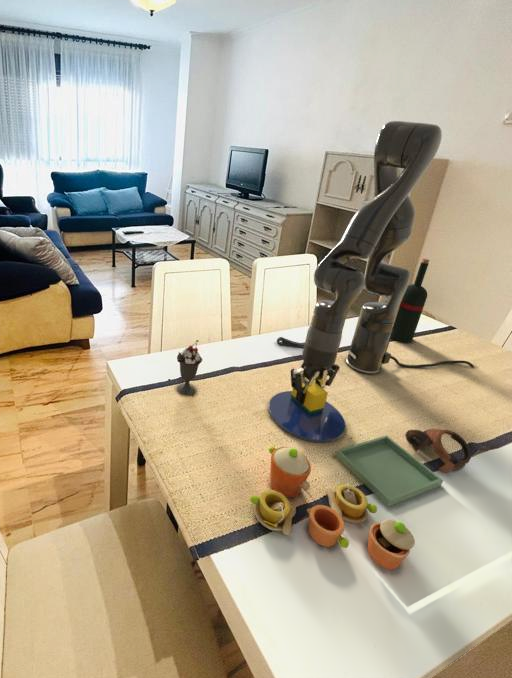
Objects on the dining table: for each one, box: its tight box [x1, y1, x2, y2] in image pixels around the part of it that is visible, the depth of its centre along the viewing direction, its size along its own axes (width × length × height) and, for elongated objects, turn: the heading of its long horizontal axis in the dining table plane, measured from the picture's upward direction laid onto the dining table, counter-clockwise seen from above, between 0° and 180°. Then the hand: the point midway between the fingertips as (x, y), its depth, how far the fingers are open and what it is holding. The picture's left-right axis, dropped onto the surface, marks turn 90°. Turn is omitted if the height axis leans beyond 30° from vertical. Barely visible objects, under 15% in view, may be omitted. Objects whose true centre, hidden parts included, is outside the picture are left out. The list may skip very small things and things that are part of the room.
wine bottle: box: [389, 258, 430, 344], centre depth 135 cm, size 8×10×30 cm
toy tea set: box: [250, 446, 416, 571], centre depth 70 cm, size 26×16×10 cm, turn 67°
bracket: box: [276, 336, 305, 350], centre depth 129 cm, size 14×15×3 cm
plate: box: [268, 390, 346, 444], centre depth 96 cm, size 18×18×1 cm
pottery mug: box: [404, 427, 472, 473], centre depth 86 cm, size 12×10×8 cm
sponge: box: [291, 377, 329, 414], centre depth 98 cm, size 4×7×6 cm, turn 21°
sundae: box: [176, 339, 203, 397], centre depth 102 cm, size 7×7×15 cm
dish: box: [334, 434, 444, 508], centre depth 82 cm, size 15×13×2 cm
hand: (307, 400), depth 99 cm, fingers closed on sponge, 4 cm apart
